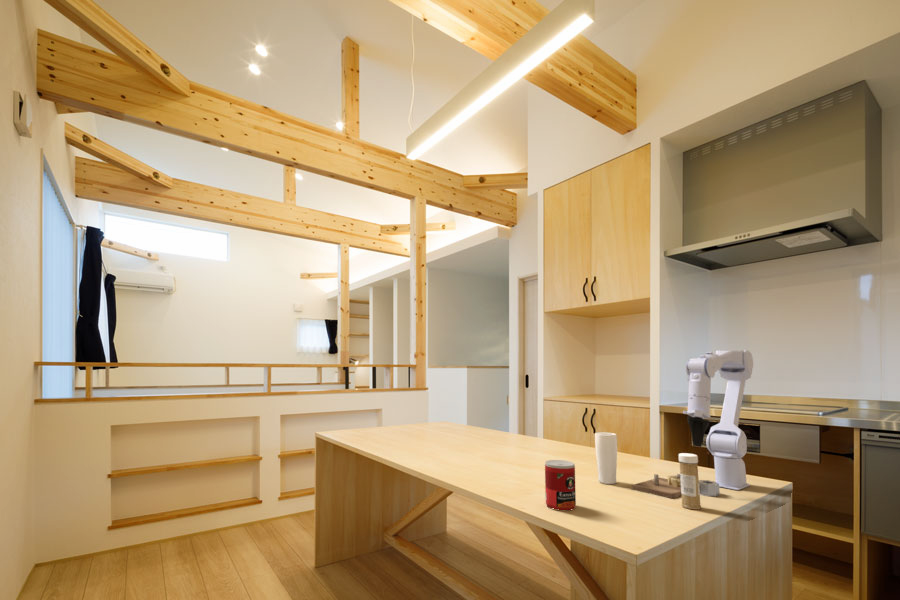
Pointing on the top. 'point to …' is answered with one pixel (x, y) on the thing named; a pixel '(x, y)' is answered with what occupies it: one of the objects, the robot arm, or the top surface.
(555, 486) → the canned food
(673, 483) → the gear board
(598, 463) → the drinking glass
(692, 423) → the robot arm
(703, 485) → the loose gear
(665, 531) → the top surface
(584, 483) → the top surface
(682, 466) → the sprinkles bottle
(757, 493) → the top surface
